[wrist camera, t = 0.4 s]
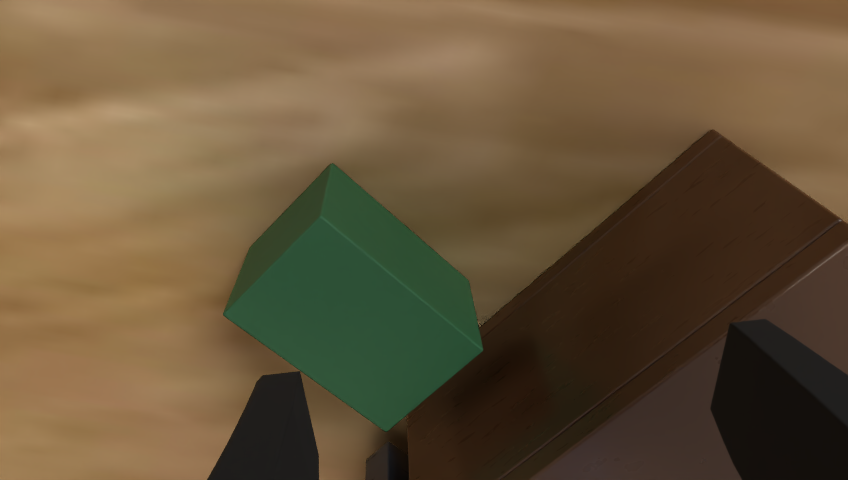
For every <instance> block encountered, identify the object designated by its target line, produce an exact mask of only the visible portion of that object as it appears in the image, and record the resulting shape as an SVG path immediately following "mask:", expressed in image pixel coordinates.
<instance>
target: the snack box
mask: <svg viewBox="0 0 848 480" xmlns="http://www.w3.org/2000/svg"><path fill="white" fill-rule="evenodd" d="M223 315H224V316H225V317H226V318H227V319H229V320H230V321H232V322H233V323H234V324H236V325H237V326H239V327H240V328H241V329H243V330H244V331H246V332H247V333H248V334H250V335H251V336H253V337H254V338H255V339H257V340H258V341H259V342H261V343H262V344H264V345H265V346H266V347H268V348H269V349H271V350H272V351H273V352H275V353H276V354H278V355H279V356H280V357H282V358H283V359H285V360H286V361H287V362H289V363H290V364H292V365H293V366H294V367H296V368H297V369H299V370H300V371H301V372H303V373H304V374H305V375H307V376H308V377H310V378H311V379H312V380H314V381H315V382H317V383H318V384H319V385H321V386H322V387H324V388H325V389H326V390H328V391H329V392H331V393H332V394H333V395H335V396H336V397H338V398H339V399H340V400H342V401H343V402H345V403H346V404H347V405H349V406H350V407H351V408H353V409H354V410H356V411H357V412H358V413H360V414H361V415H363V416H364V417H365V418H367V419H368V420H370V421H371V422H372V423H374V424H375V425H377V426H378V427H379V428H381V429H382V430H384V431H385V432H387V431H388V430H390V429H391V428H392V427H393V426H394V425H396V424H397V423H398V422H399V421H400V420H401V419H403V418H404V417H405V416H406V415H407V414H409V413H410V412H411V411H412V410H413V409H415V408H416V407H417V406H418V405H419V404H421V403H422V402H423V401H424V400H425V399H426V398H428V397H429V396H430V395H431V394H432V393H434V392H435V391H436V390H437V389H438V388H440V387H441V386H442V385H443V384H444V383H445V382H447V381H448V380H449V379H450V378H451V377H453V376H454V375H455V374H456V373H457V372H459V371H460V370H461V369H462V368H463V367H465V366H466V365H467V364H468V363H469V362H470V361H472V360H473V359H474V358H475V357H476V356H478V355H479V354H480V353H481V352H482V351H483V345H482V341H481V336H480V331H479V327H478V322H477V317H476V312H475V308H474V303H473V298H472V294H471V289H470V284H469V281H468V280H467V279H466V278H465V277H464V276H463V275H462V274H460V273H459V272H458V271H457V270H456V269H455V268H453V267H452V266H451V265H450V264H449V263H448V262H447V261H445V260H444V259H443V258H442V257H441V256H440V255H438V254H437V253H436V252H435V251H434V250H433V249H432V248H430V247H429V246H428V245H427V244H426V243H425V242H423V241H422V240H421V239H420V238H419V237H418V236H417V235H415V234H414V233H413V232H412V231H411V230H410V229H408V228H407V227H406V226H405V225H404V224H403V223H401V222H400V221H399V220H398V219H397V218H396V217H395V216H393V215H392V214H391V213H390V212H389V211H388V210H386V209H385V208H384V207H383V206H382V205H381V204H380V203H378V202H377V201H376V200H375V199H374V198H373V197H371V196H370V195H369V194H368V193H367V192H366V191H365V190H363V189H362V188H361V187H360V186H359V185H358V184H356V183H355V182H354V181H353V180H352V179H351V178H349V177H348V176H347V175H346V174H345V173H344V172H343V171H341V170H340V169H339V168H338V167H337V166H336V165H334V164H333V163H332V164H330V165H329V166H328V167H327V168H326V169H325V170H324V171H323V172H322V173H321V174H320V176H319V177H318V178H317V179H316V180H315V181H314V182H313V183H312V184H311V185H310V186H309V187H308V188H307V189H306V190H305V191H304V192H303V193H302V194H301V195H300V196H299V197H298V198H297V199H296V200H295V201H294V202H293V203H292V204H291V205H290V207H289V208H288V209H287V210H286V211H285V212H284V213H283V214H282V215H281V216H280V217H279V218H278V219H277V220H276V221H275V222H274V223H273V224H272V225H271V226H270V227H269V228H268V229H267V230H266V231H265V232H264V233H263V234H262V235H261V237H260V238H259V239H258V240H257V241H256V242H255V243H254V244H253V245H252V246H251V247H250V248H249V251H248V253H247V256H246V258H245V260H244V263H243V265H242V268H241V270H240V273H239V275H238V278H237V280H236V283H235V285H234V288H233V290H232V293H231V295H230V298H229V300H228V303H227V305H226V308H225V310H224V313H223Z"/></svg>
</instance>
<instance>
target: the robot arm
mask: <svg viewBox="0 0 848 480" xmlns="http://www.w3.org/2000/svg"><path fill="white" fill-rule="evenodd" d="M710 410H711V412H712V415H713V417H714V420H715V422H716V425H717V427H718V430H719V432H720V434H721V437H722V439H723V442H724V444H725V446H726V449H727V451H728V453H729V455H730V458H731V460H732V462H733V464H734V466H735V468H736V470H737V472H738V473H739V475H740V477H741V479H742V480H848V375H847V374H846V373H844V372H843V371H841V370H840V369H838V368H837V367H836V366H834V365H833V364H831V363H830V362H828V361H827V360H825V359H824V358H823V357H821V356H820V355H818V354H817V353H815V352H814V351H812V350H811V349H810V348H808V347H807V346H805V345H804V344H802V343H801V342H800V341H798V340H797V339H795V338H794V337H792V336H791V335H789V334H788V333H786V332H785V331H783V330H782V329H780V328H779V327H777V326H776V325H774V324H773V323H771V322H770V321H768V320H767V319H759V320H750V321H741V322H732V323H730V324H729V329H728V333H727V337H726V342H725V346H724V350H723V355H722V359H721V363H720V368H719V372H718V376H717V381H716V385H715V389H714V394H713V398H712V402H711V407H710ZM207 480H319V454H318V450H317V445H316V441H315V437H314V432H313V428H312V423H311V419H310V415H309V410H308V406H307V401H306V397H305V392H304V388H303V384H302V379H301V375H300V371H298V372H289V373H280V374H272V375H263V376H262V377H261V378H260V379H259V380H258V381H257V382H256V385H255V387H254V389H253V392H252V394H251V396H250V398H249V401H248V403H247V405H246V407H245V409H244V411H243V413H242V415H241V417H240V419H239V421H238V424H237V426H236V427H235V429H234V431H233V433H232V435H231V437H230V439H229V441H228V443H227V445H226V447H225V449H224V451H223V452H222V454H221V456H220V458H219V459H218V461H217V463H216V465H215V467H214V468H213V470H212V472H211V474H210V476H209V477H208V479H207Z"/></svg>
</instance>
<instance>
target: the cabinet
mask: <svg viewBox="0 0 848 480" xmlns="http://www.w3.org/2000/svg"><path fill="white" fill-rule="evenodd" d="M759 319H767V320H768V321H770V322H771V323H773V324H774V325H776V326H777V327H779V328H780V329H782V330H783V331H785V332H786V333H788V334H789V335H791V336H792V337H794V338H795V339H797V340H798V341H800V342H801V343H802V344H804V345H805V346H807V347H808V348H810V349H811V350H812V351H814V352H815V353H817V354H818V355H820V356H821V357H823V358H824V359H825V360H827V361H828V362H830V363H831V364H833V365H834V366H836V367H837V368H838V369H840V370H841V371H843V372H844V373H846V374H847V375H848V223H847V222H844V221H843V220H842V219H841V218H840V217H838V216H837V215H835V214H834V213H832V212H831V211H829V210H828V209H827V208H825V207H824V206H822V205H821V204H819V203H818V202H817V201H815V200H814V199H812V198H811V197H809V196H808V195H807V194H805V193H804V192H802V191H801V190H799V189H798V188H797V187H795V186H794V185H792V184H791V183H789V182H788V181H787V180H785V179H784V178H782V177H781V176H779V175H778V174H776V173H775V172H774V171H772V170H771V169H769V168H768V167H766V166H765V165H764V164H762V163H761V162H759V161H758V160H756V159H755V158H754V157H752V156H751V155H749V154H748V153H746V152H745V151H744V150H742V149H741V148H739V147H738V146H736V145H735V144H734V143H732V142H731V141H729V140H728V139H726V138H725V137H723V136H722V135H721V134H719V133H718V132H716V131H715V130H711V131H709V132H708V133H707V134H706V135H705V136H703V137H702V138H701V139H700V140H699V141H698V142H696V143H695V144H694V145H693V146H692V147H691V148H689V149H688V150H687V151H686V152H685V153H684V154H682V155H681V156H680V157H679V158H678V159H677V160H675V161H674V162H673V163H672V164H671V165H670V166H668V167H667V168H666V169H665V170H664V171H663V172H661V173H660V174H659V175H658V176H657V177H656V178H654V179H653V180H652V181H651V182H650V183H649V184H647V185H646V186H645V187H644V188H643V189H642V190H640V191H639V192H638V193H637V194H636V195H635V196H633V197H632V198H631V199H630V200H629V201H628V202H626V203H625V204H624V205H623V206H622V207H620V208H619V209H618V210H617V211H616V212H615V213H613V214H612V215H611V216H610V217H609V218H608V219H606V220H605V221H604V222H603V223H602V224H601V225H599V226H598V227H597V228H596V229H595V230H594V231H592V232H591V233H590V234H589V235H588V236H587V237H585V238H584V239H583V240H582V241H581V242H580V243H578V244H577V245H576V246H575V247H574V248H573V249H571V250H570V251H569V252H568V253H567V254H566V255H564V256H563V257H562V258H561V259H560V260H559V261H557V262H556V263H555V264H554V265H553V266H552V267H550V268H549V269H548V270H547V271H546V272H545V273H543V274H542V275H541V276H540V277H539V278H538V279H536V280H535V281H534V282H533V283H532V284H530V285H529V286H528V287H527V288H526V289H525V290H523V291H522V292H521V293H520V294H519V295H518V296H516V297H515V298H514V299H513V300H512V301H511V302H509V303H508V304H507V305H506V306H505V307H504V308H502V309H501V310H500V311H499V312H498V313H497V314H495V315H494V316H493V317H492V318H491V319H490V320H488V321H487V322H486V323H485V324H484V325H483V326H481V327H480V328H479V331H480V336H481V341H482V345H483V351H482V352H481V353H480V354H479V355H478V356H476V357H475V358H474V359H473V360H472V361H470V362H469V363H468V364H467V365H466V366H465V367H463V368H462V369H461V370H460V371H459V372H457V373H456V374H455V375H454V376H453V377H451V378H450V379H449V380H448V381H447V382H445V383H444V384H443V385H442V386H441V387H440V388H438V389H437V390H436V391H435V392H434V393H432V394H431V395H430V396H429V397H428V398H426V399H425V400H424V401H423V402H422V403H421V404H419V405H418V406H417V407H416V408H415V409H413V410H412V411H411V412H410V413H409V414H407V434H408V462H409V480H742V479H741V477H740V475H739V473H738V472H737V470H736V468H735V466H734V464H733V462H732V460H731V458H730V455H729V453H728V451H727V449H726V446H725V444H724V442H723V439H722V437H721V434H720V432H719V430H718V427H717V425H716V422H715V420H714V417H713V415H712V412H711V410H710V407H711V402H712V398H713V394H714V389H715V385H716V381H717V376H718V372H719V368H720V363H721V359H722V355H723V350H724V346H725V342H726V337H727V333H728V329H729V324H730V323H732V322H741V321H750V320H759Z"/></svg>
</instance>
